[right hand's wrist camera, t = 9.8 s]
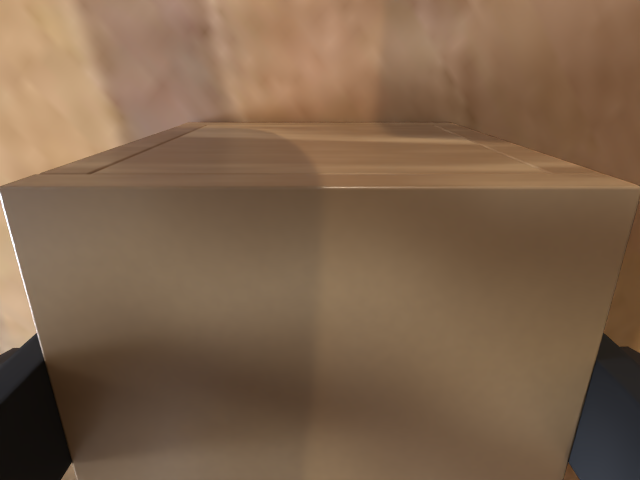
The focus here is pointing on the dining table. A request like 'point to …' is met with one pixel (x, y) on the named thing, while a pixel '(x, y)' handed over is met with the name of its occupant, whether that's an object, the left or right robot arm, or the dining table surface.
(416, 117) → the dining table surface
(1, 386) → the right robot arm
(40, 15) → the dining table surface
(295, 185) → the cabinet
